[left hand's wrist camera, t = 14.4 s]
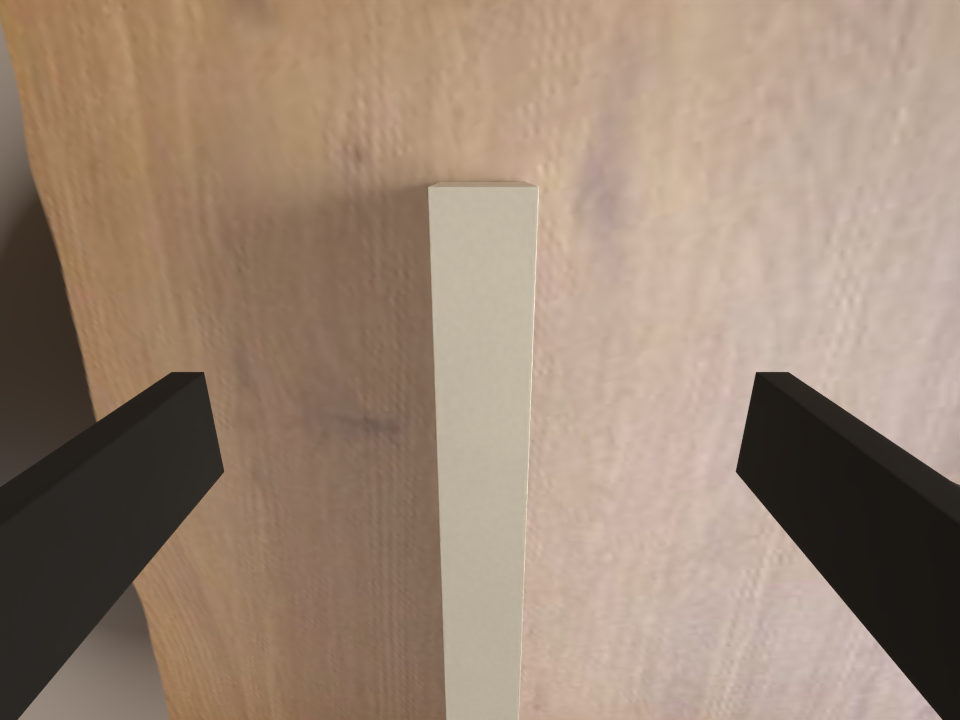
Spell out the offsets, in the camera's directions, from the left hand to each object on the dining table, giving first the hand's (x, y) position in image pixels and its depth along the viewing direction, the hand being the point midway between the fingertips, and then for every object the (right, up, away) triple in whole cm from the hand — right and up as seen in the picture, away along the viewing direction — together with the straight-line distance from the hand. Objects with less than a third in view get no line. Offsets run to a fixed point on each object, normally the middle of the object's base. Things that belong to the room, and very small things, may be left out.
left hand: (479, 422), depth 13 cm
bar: (0, -19, +32) cm, 38 cm away
